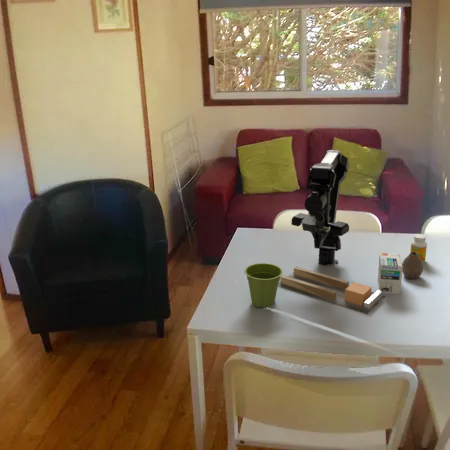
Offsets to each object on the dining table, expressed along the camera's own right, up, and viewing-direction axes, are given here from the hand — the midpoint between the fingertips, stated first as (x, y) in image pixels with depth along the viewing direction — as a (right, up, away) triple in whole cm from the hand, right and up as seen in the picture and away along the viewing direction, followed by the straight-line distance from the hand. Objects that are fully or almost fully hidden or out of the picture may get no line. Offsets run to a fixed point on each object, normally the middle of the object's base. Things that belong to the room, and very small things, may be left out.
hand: (318, 247), depth 180 cm
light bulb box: (+23, -14, -3) cm, 26 cm away
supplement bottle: (+39, -6, +17) cm, 43 cm away
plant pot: (-19, -17, -10) cm, 28 cm away
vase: (+33, -10, +5) cm, 35 cm away
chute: (+2, -14, -5) cm, 15 cm away
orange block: (+10, -16, -11) cm, 22 cm away
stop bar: (+14, -17, -14) cm, 26 cm away
